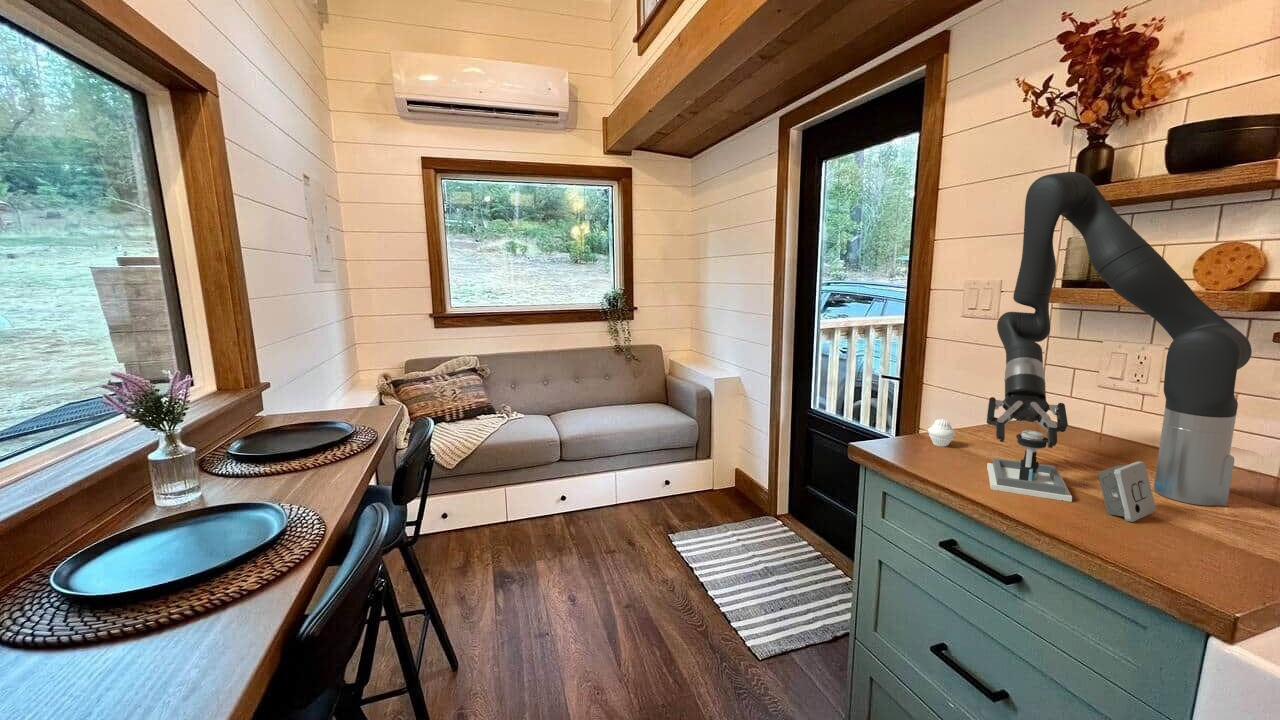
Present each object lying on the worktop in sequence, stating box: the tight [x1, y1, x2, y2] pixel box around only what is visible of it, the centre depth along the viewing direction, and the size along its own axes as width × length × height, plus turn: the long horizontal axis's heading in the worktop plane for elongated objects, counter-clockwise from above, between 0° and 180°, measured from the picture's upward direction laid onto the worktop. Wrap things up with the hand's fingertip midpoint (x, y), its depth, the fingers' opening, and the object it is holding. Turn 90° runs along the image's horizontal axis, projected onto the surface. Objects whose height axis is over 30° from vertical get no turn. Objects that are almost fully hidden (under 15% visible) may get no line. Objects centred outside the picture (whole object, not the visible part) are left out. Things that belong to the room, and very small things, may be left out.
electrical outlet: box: [1097, 461, 1157, 523], centre depth 95 cm, size 9×5×9 cm, turn 116°
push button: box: [1016, 430, 1048, 481], centre depth 109 cm, size 7×5×10 cm
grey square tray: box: [986, 457, 1073, 503], centre depth 109 cm, size 13×14×2 cm
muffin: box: [927, 418, 956, 448], centre depth 133 cm, size 6×6×7 cm
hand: (1026, 443), depth 111 cm, fingers open, 8 cm apart
